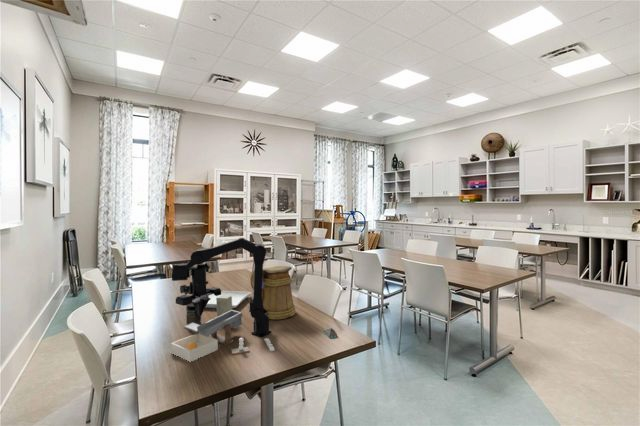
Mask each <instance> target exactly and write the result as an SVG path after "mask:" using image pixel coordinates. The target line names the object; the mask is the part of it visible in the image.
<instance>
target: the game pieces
mask: <svg viewBox="0 0 640 426" xmlns="http://www.w3.org/2000/svg"><path fill="white" fill-rule="evenodd" d="M323 329H324V330H323V333H324V335H325V336H327V338H329V339H334V338H338V334H337V332H336V331H335V329H333V327H330V328H323ZM333 337H334V338H333ZM244 339H245V338H244V337H240V338H239V339H238V342H239V343H238V345H239V346H238V347H237V348H231V349H230V353H231V355H232V356H234V355H235V356H236V355H239V354H244V353H249V352H250V349H249V346H244V344H245V343H244ZM263 340H264V342H265V344H266V346H267V348H268V349H269V352H273V351H275V346H274V345H273V343H272V342H271V340H270V339H269V337H267V338H263Z"/></svg>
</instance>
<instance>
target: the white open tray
mask: <svg viewBox="0 0 640 426" xmlns="http://www.w3.org/2000/svg"><path fill="white" fill-rule="evenodd" d="M209 336H210V335H209ZM209 336H207V337H206V336H203V335H201V334H199V333H198V334H197V333H193V334H191V335H188V336H186V337H183V338H180V339H178V340H175V341H173V342H171V343H170V354H171V353H172V355H173V354H174V356H175V355H176V356H175V357H177V356H179V357H181V358H180V359H182V358H183V359H182V360H184V359H185V360H184V361H186V360H187V361H186V362H188V361H189V362H188V363H192V362H194V361H197V360H199V359H201V358H202V357H205V356H208V355H209V354H212V353H214V352H216V351H218V350H219V349H218V348H219V347H218V346H219V345H218V344H219V343H218V340H217V339H214V338H212V337H209ZM191 342H195V343H196V344H197V348H195V349H193V350H188V348H187V347H188V344H189V343H191ZM179 357H178V358H179ZM200 357H201V358H200ZM198 358H199V359H198ZM191 361H192V362H191Z"/></svg>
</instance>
